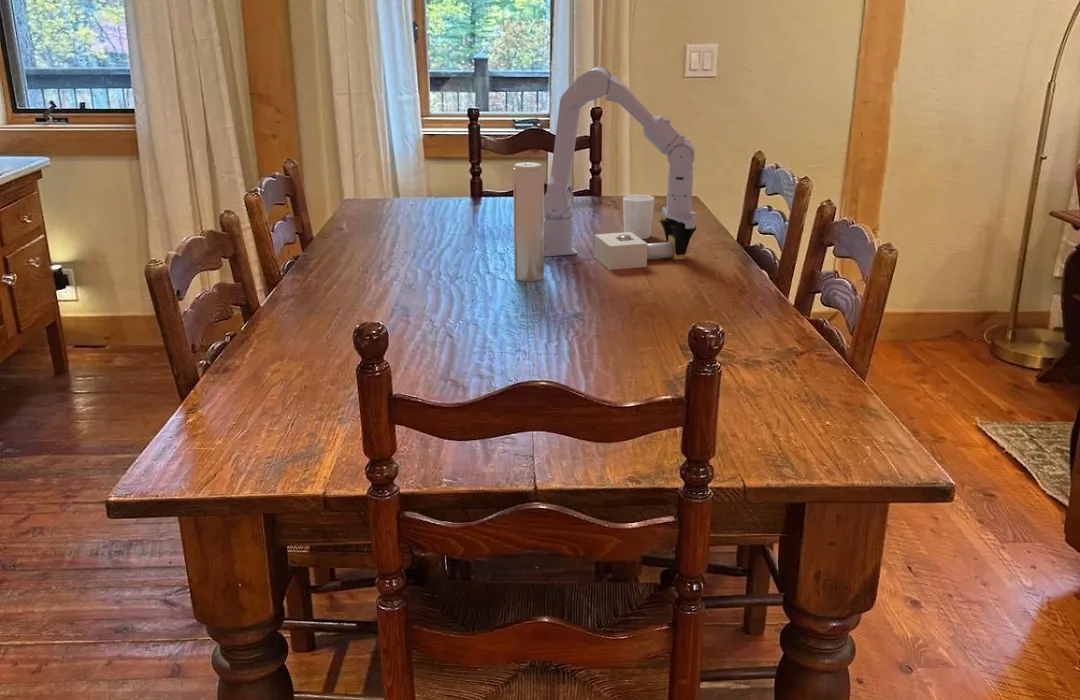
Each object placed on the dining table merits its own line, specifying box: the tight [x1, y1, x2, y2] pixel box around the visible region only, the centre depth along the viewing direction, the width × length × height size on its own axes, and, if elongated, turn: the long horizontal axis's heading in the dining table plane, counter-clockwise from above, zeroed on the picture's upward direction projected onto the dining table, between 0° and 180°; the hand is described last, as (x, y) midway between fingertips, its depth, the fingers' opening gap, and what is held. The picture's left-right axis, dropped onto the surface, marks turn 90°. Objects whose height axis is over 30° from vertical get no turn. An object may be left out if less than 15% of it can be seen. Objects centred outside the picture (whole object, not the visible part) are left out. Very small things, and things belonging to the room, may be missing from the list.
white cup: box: [622, 194, 655, 240], centre depth 239 cm, size 8×8×10 cm
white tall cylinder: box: [512, 161, 545, 283], centre depth 202 cm, size 6×6×25 cm
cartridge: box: [647, 235, 685, 260], centre depth 220 cm, size 10×4×5 cm, turn 105°
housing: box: [593, 231, 649, 271], centre depth 217 cm, size 9×11×6 cm
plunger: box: [619, 235, 631, 241], centre depth 217 cm, size 3×3×2 cm
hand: (676, 251), depth 221 cm, fingers closed on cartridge, 4 cm apart
